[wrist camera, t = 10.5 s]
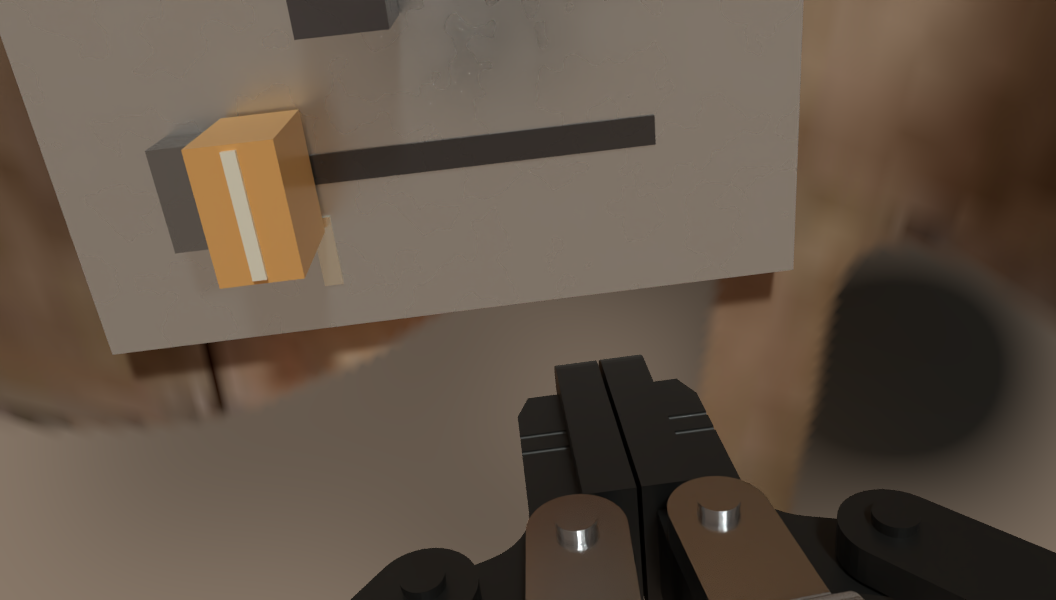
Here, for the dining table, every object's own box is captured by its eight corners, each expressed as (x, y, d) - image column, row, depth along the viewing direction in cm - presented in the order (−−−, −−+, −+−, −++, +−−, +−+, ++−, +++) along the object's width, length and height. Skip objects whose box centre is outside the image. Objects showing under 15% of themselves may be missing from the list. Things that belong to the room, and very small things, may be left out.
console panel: (791, -254, 30) (889, -307, 23) (777, 253, 38) (845, 322, 32) (-41, -168, 29) (-190, -198, 22) (129, 334, 37) (57, 422, 31)
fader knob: (298, 109, 32) (271, 140, 27) (325, 231, 34) (304, 280, 29) (220, 118, 31) (179, 151, 27) (251, 240, 34) (218, 291, 29)
